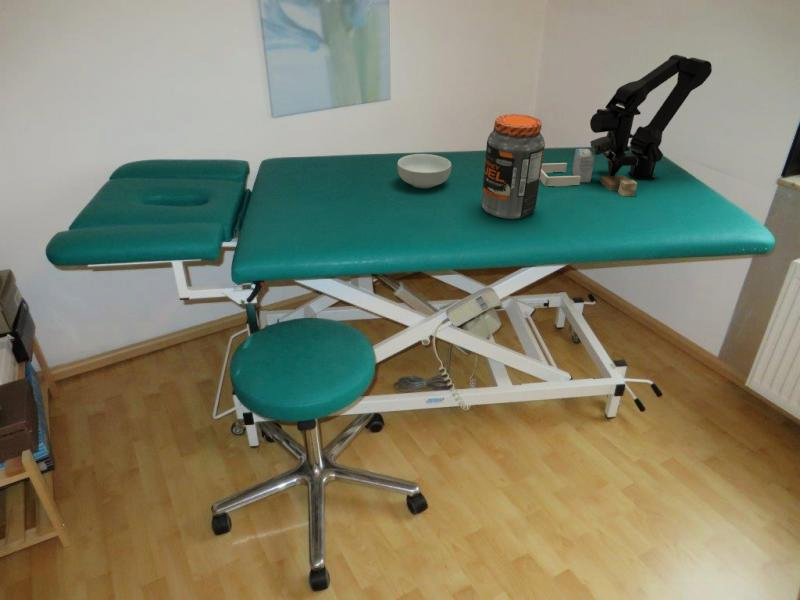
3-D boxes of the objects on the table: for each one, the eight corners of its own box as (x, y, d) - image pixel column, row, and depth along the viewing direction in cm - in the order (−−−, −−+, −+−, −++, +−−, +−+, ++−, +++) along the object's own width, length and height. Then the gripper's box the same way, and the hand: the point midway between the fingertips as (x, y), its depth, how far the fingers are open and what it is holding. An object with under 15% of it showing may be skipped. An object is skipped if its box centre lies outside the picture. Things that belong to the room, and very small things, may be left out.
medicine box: (590, 182, 193) (595, 156, 189) (576, 182, 194) (581, 156, 189) (584, 174, 200) (589, 148, 195) (571, 173, 200) (575, 148, 196)
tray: (564, 171, 202) (566, 162, 200) (579, 185, 191) (580, 176, 190) (533, 172, 200) (534, 163, 199) (545, 186, 190) (547, 177, 188)
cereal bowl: (422, 198, 181) (422, 176, 177) (386, 182, 191) (386, 161, 188) (461, 185, 190) (462, 163, 187) (425, 170, 201) (426, 149, 197)
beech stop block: (630, 192, 187) (633, 179, 185) (634, 195, 185) (637, 183, 182) (618, 192, 187) (620, 180, 185) (622, 196, 184) (625, 183, 182)
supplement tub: (470, 203, 178) (477, 115, 164) (516, 195, 184) (526, 109, 170) (498, 224, 166) (508, 131, 152) (546, 215, 171) (560, 124, 158)
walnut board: (623, 182, 195) (624, 175, 194) (632, 190, 190) (634, 183, 188) (599, 183, 194) (601, 176, 193) (608, 191, 189) (610, 184, 187)
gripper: (585, 121, 193) (576, 167, 202) (608, 139, 178) (598, 189, 186) (618, 120, 194) (608, 167, 203) (644, 138, 179) (632, 188, 187)
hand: (611, 177), depth 195 cm, fingers closed
